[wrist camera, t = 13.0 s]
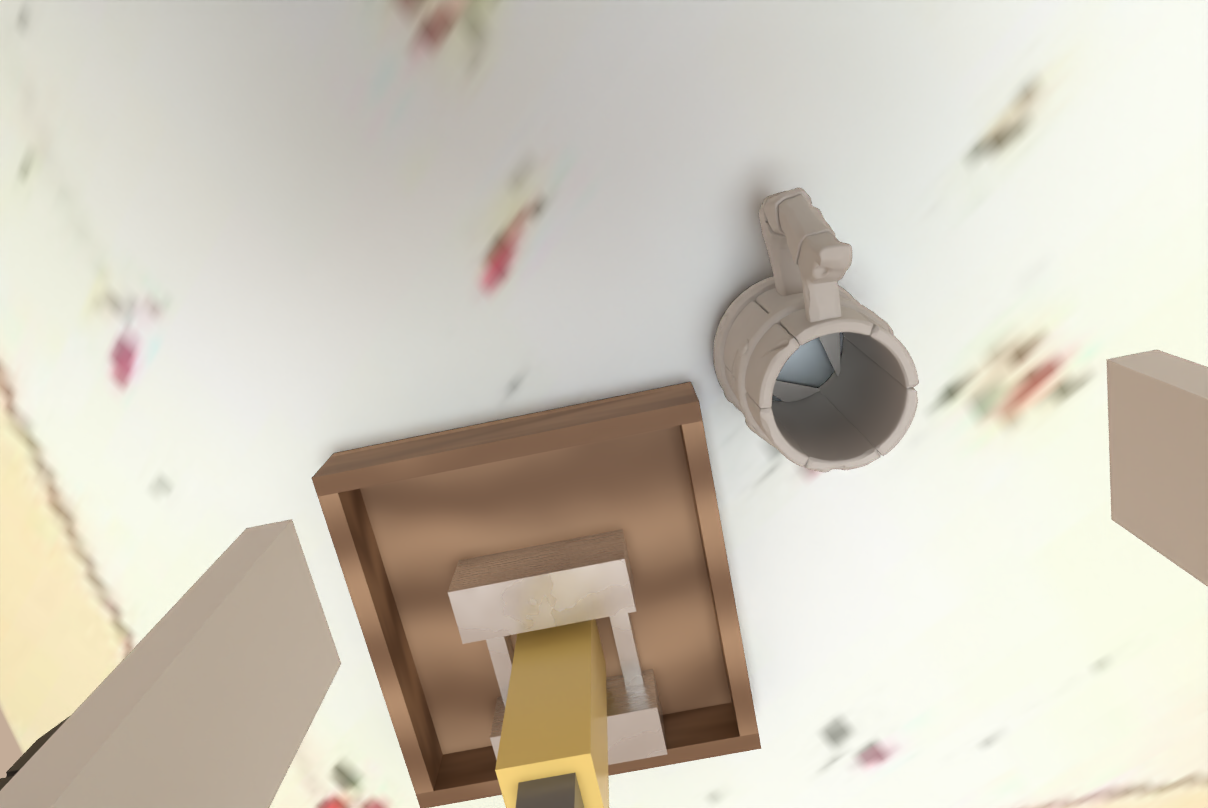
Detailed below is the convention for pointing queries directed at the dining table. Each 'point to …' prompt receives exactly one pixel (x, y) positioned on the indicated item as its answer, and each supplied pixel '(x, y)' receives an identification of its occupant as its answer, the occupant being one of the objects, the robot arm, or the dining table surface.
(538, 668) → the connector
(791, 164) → the dining table surface
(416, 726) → the box
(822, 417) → the mug
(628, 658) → the inlet
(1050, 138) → the dining table surface
